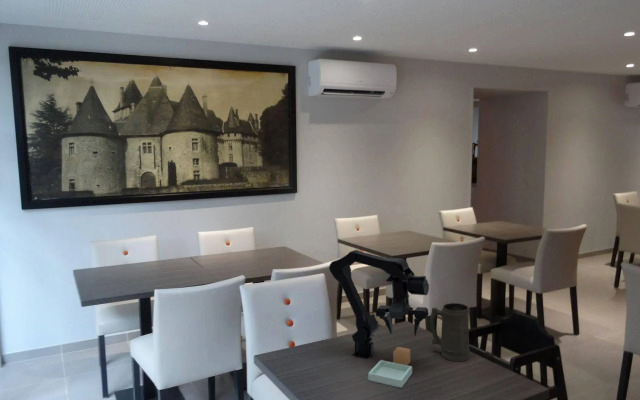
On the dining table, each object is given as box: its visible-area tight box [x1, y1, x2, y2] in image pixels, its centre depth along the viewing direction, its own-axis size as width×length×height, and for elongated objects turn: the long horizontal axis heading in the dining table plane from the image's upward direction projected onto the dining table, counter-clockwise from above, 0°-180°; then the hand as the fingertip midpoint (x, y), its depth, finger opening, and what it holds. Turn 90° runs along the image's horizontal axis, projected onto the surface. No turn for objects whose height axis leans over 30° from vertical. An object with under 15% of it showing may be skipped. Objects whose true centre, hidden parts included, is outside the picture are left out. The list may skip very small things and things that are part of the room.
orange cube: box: [392, 346, 411, 366], centre depth 179 cm, size 5×5×5 cm
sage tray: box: [367, 359, 413, 389], centre depth 168 cm, size 12×12×2 cm
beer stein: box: [428, 302, 471, 362], centre depth 185 cm, size 15×11×20 cm
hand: (403, 334), depth 178 cm, fingers open, 9 cm apart
